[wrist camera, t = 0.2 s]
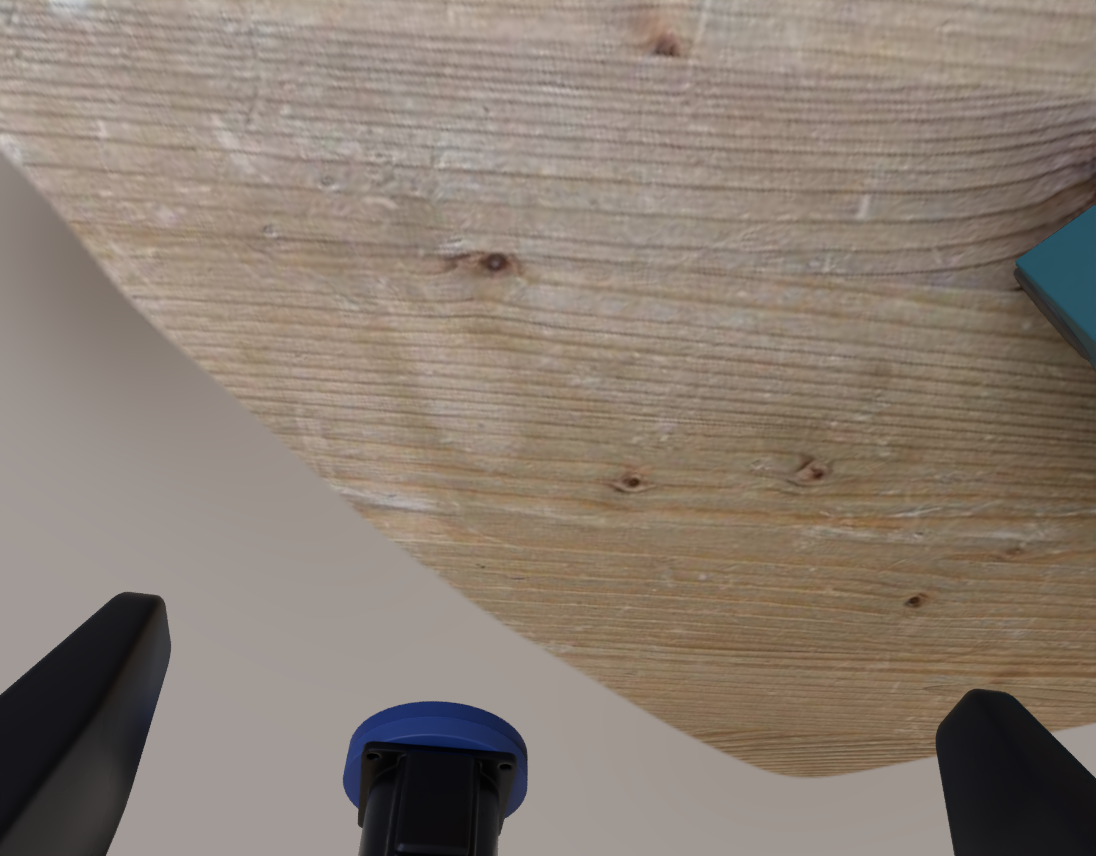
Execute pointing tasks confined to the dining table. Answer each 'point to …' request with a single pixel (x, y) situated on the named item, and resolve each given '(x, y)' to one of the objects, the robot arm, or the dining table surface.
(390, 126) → the dining table surface
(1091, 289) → the toy van
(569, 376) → the dining table surface
